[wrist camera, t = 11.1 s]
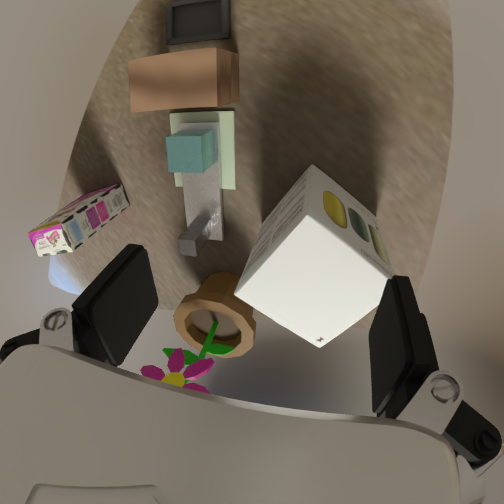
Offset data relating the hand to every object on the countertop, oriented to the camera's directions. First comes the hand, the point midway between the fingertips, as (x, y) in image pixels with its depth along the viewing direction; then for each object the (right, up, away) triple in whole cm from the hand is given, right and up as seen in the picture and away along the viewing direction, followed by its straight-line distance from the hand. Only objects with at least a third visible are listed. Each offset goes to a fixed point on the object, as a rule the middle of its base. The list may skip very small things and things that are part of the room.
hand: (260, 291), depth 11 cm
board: (-8, +17, +32) cm, 37 cm away
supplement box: (+10, +6, +34) cm, 36 cm away
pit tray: (-8, +34, +21) cm, 40 cm away
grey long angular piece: (-8, +13, +34) cm, 37 cm away
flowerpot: (-5, -6, +46) cm, 47 cm away
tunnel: (-8, +26, +26) cm, 37 cm away
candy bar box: (-28, +12, +41) cm, 51 cm away
